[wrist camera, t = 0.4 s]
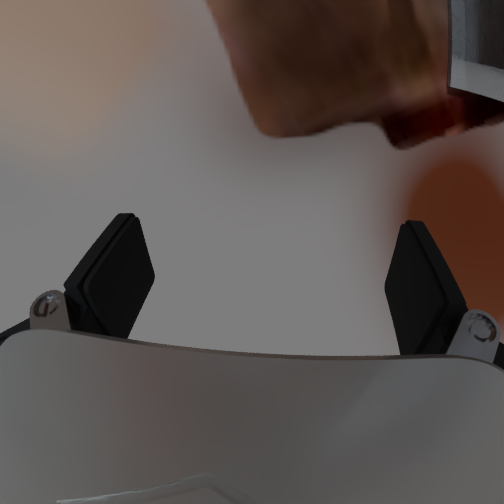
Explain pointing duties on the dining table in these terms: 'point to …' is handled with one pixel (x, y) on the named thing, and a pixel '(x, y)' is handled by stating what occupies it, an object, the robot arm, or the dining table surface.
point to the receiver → (476, 47)
